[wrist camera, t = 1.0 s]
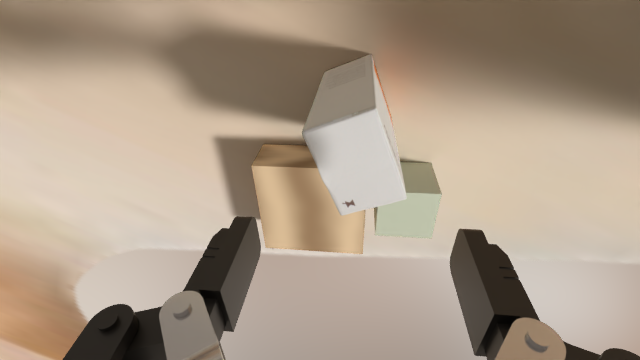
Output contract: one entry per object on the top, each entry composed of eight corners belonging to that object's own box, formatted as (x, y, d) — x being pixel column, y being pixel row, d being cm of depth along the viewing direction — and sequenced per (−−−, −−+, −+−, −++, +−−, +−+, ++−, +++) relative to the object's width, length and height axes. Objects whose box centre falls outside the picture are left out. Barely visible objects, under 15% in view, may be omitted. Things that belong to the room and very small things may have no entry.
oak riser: (367, 147, 30) (368, 170, 26) (362, 226, 35) (362, 254, 32) (263, 144, 31) (251, 165, 27) (274, 221, 36) (265, 247, 33)
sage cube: (431, 162, 30) (441, 194, 26) (422, 204, 33) (431, 238, 29) (377, 160, 30) (379, 191, 26) (373, 201, 33) (375, 235, 29)
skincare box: (393, 118, 28) (409, 202, 18) (347, 132, 29) (339, 219, 19) (372, 49, 25) (377, 106, 15) (322, 69, 26) (297, 133, 16)
